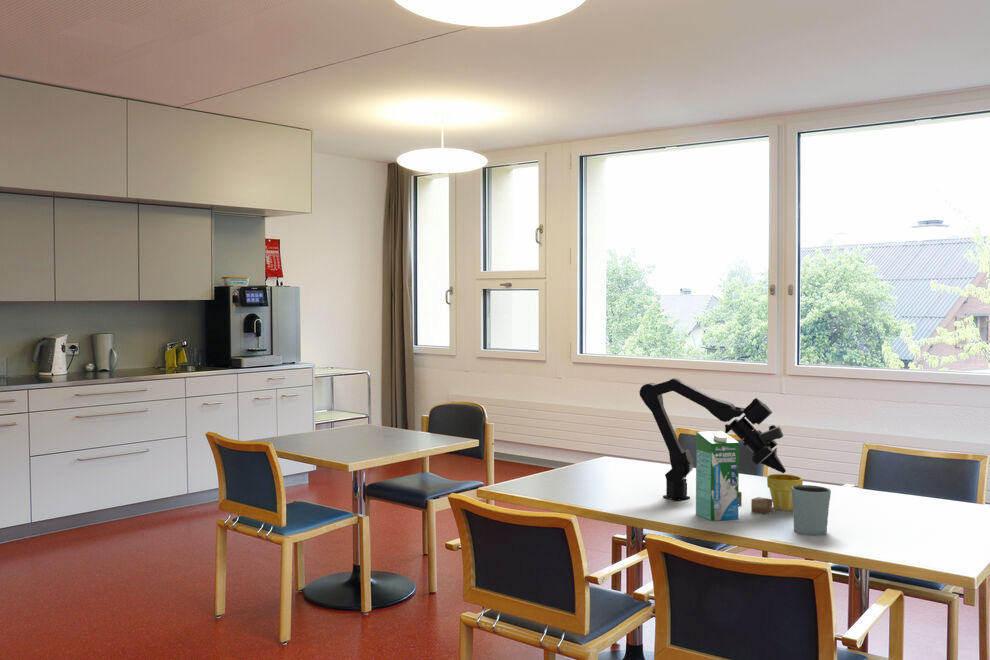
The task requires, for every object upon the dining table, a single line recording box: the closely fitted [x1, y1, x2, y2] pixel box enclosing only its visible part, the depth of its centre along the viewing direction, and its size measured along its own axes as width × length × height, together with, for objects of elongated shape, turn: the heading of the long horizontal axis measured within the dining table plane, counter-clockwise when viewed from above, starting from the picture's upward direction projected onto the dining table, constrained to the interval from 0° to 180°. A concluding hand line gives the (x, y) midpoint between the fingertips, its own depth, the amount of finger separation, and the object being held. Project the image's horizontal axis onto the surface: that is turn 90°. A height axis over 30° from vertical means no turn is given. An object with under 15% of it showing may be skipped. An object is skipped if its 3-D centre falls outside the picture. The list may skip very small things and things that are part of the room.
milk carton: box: [695, 430, 740, 522], centre depth 242 cm, size 9×9×25 cm
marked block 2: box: [750, 496, 773, 515], centre depth 248 cm, size 4×4×4 cm
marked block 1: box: [738, 491, 743, 505], centre depth 260 cm, size 4×4×4 cm
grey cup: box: [791, 484, 832, 536], centre depth 225 cm, size 10×10×12 cm
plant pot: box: [766, 473, 804, 511], centre depth 253 cm, size 10×10×10 cm
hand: (784, 472), depth 253 cm, fingers closed
